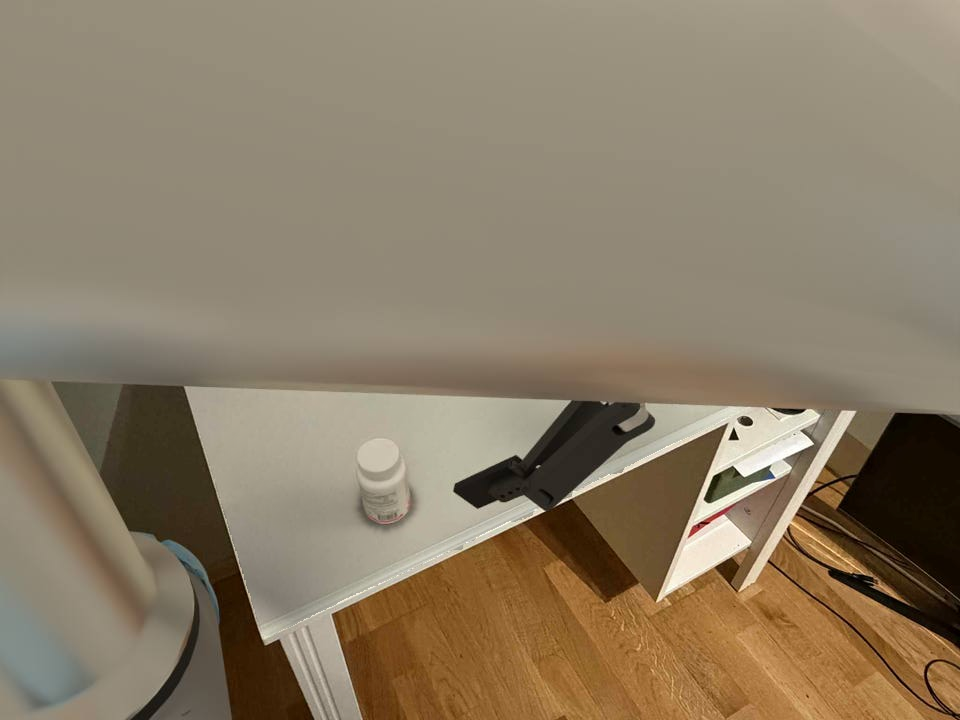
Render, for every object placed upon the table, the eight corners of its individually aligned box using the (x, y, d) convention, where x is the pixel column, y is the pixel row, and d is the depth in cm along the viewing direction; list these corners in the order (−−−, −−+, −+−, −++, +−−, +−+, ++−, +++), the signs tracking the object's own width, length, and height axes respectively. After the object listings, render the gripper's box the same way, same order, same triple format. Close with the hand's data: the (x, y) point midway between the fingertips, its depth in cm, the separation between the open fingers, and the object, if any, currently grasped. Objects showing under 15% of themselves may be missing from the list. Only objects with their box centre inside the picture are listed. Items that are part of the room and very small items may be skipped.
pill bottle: (382, 478, 67) (373, 426, 62) (420, 498, 66) (414, 446, 60) (354, 511, 64) (341, 460, 59) (392, 533, 63) (383, 483, 57)
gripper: (761, 498, 35) (488, 586, 47) (716, 246, 53) (526, 356, 65) (683, 423, 32) (413, 537, 44) (663, 182, 50) (474, 311, 62)
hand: (480, 430), depth 54 cm, fingers open, 13 cm apart
